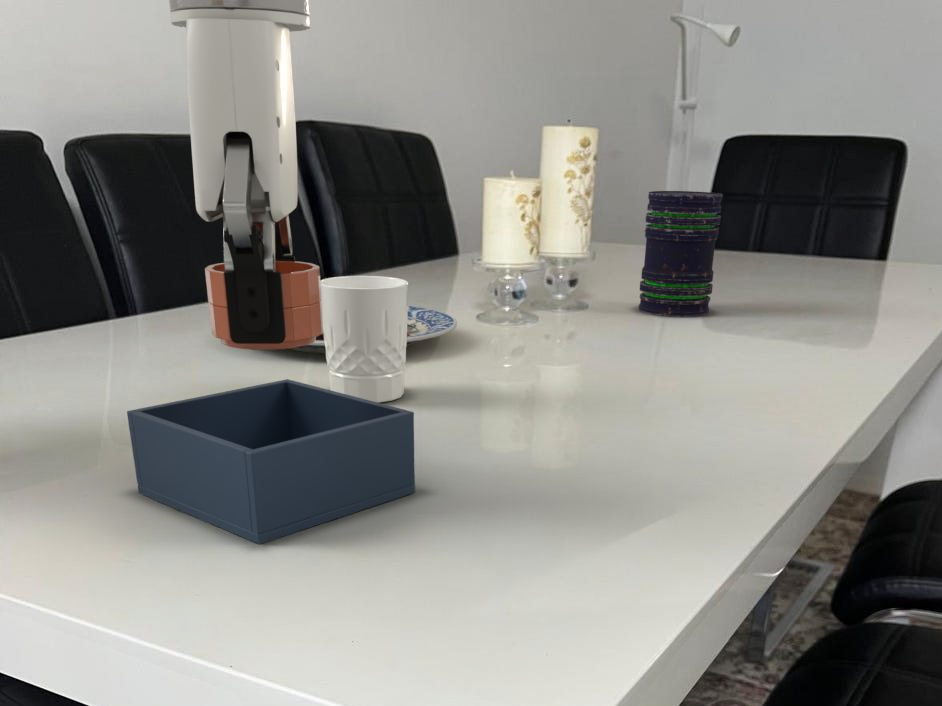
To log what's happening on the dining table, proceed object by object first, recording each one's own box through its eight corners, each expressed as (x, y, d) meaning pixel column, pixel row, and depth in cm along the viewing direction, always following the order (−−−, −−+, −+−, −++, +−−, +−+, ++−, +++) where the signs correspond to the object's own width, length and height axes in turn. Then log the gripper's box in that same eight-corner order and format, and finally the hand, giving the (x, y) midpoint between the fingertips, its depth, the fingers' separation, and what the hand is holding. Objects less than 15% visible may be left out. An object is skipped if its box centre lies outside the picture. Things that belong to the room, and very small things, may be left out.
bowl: (191, 340, 63) (183, 266, 61) (277, 326, 67) (272, 257, 65) (258, 356, 59) (251, 277, 57) (345, 340, 63) (341, 267, 61)
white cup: (359, 381, 97) (355, 273, 93) (426, 392, 94) (425, 280, 89) (307, 397, 91) (299, 282, 87) (376, 410, 88) (373, 291, 83)
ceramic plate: (229, 366, 102) (226, 336, 100) (234, 322, 124) (232, 297, 123) (476, 360, 107) (476, 332, 105) (438, 318, 129) (438, 294, 128)
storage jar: (630, 305, 142) (639, 190, 135) (697, 305, 143) (710, 191, 136) (647, 317, 133) (658, 195, 126) (719, 317, 134) (733, 196, 127)
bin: (138, 493, 67) (126, 410, 65) (292, 452, 76) (287, 378, 73) (259, 544, 59) (250, 453, 57) (415, 492, 68) (414, 411, 66)
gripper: (199, 11, 62) (229, 308, 70) (129, -27, 47) (177, 359, 55) (321, 13, 62) (336, 308, 71) (290, -23, 47) (315, 359, 55)
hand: (266, 328), depth 63 cm, fingers closed on bowl, 6 cm apart
